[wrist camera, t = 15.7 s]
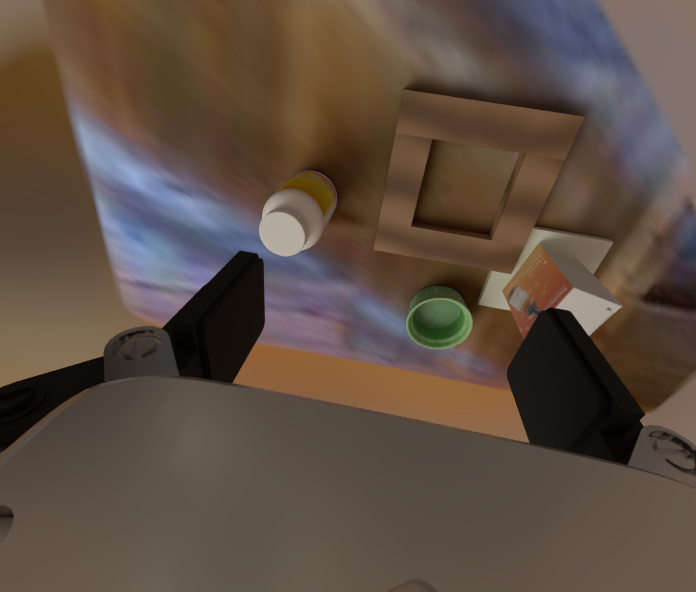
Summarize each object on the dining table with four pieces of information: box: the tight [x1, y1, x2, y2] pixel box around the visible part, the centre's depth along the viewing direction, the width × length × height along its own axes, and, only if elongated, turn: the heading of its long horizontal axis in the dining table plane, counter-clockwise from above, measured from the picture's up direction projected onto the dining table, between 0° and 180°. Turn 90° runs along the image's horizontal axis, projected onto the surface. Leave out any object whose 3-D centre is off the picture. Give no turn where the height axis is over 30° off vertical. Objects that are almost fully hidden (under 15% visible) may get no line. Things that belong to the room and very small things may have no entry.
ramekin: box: [406, 286, 473, 349], centre depth 47 cm, size 9×9×4 cm
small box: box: [502, 243, 622, 339], centre depth 38 cm, size 8×6×10 cm
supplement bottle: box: [259, 171, 337, 256], centre depth 37 cm, size 7×7×13 cm
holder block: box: [374, 89, 585, 274], centre depth 38 cm, size 18×18×2 cm
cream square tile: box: [477, 226, 614, 311], centre depth 43 cm, size 12×12×1 cm
